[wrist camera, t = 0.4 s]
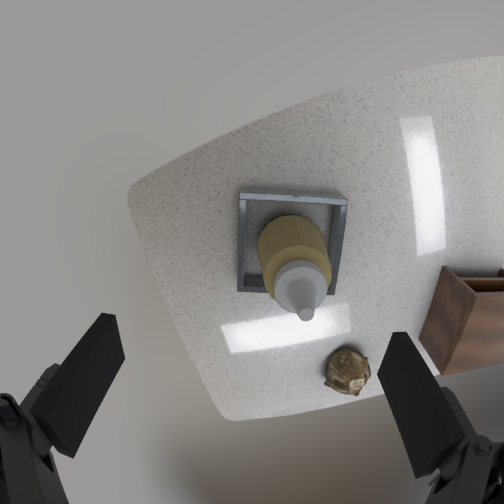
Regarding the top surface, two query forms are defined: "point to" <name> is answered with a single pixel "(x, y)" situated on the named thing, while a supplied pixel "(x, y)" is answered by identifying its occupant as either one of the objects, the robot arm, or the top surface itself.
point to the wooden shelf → (465, 323)
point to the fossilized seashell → (347, 372)
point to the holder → (339, 201)
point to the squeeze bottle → (295, 264)
